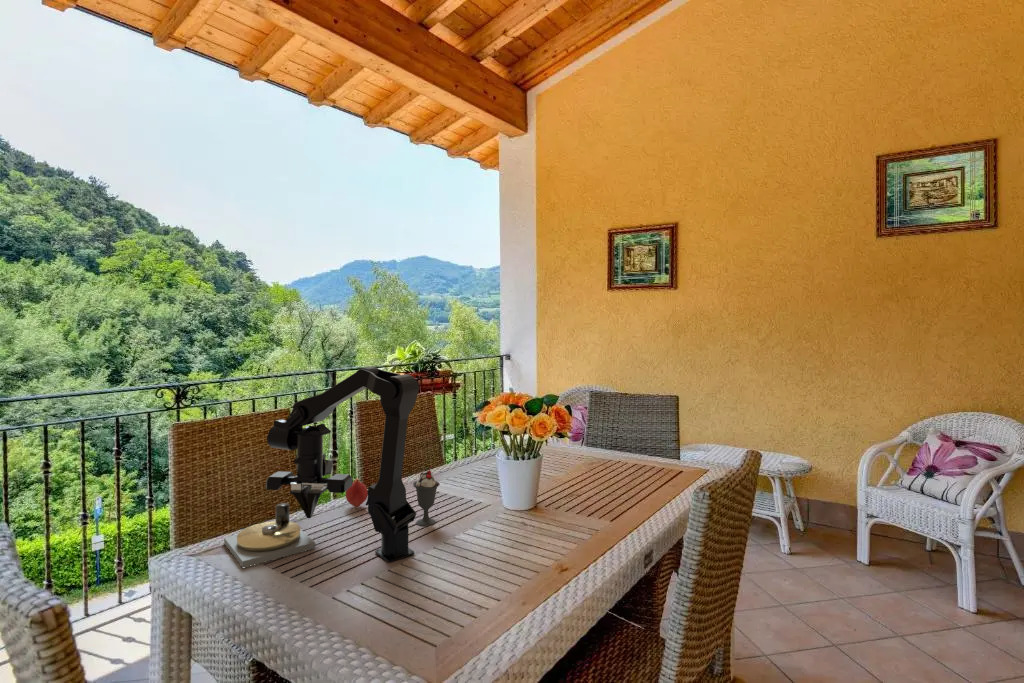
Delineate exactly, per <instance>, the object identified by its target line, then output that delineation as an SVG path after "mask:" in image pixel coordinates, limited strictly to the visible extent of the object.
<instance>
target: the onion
mask: <svg viewBox="0 0 1024 683" xmlns="http://www.w3.org/2000/svg"><path fill="white" fill-rule="evenodd" d="M345 499H346V502H348V503H349V504H350V505H352V506H353V507H354V508H356V507H357V508H359V507H360V506H361V505H362V504H363V503H364V502H365V501H367V499H368V488H367V486H366V485H365V484H364V483H363V482H361V481H360V478H355V480H354V481H352V486H351V487H350V488H349V489H348V490H346V491H345Z"/></svg>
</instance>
